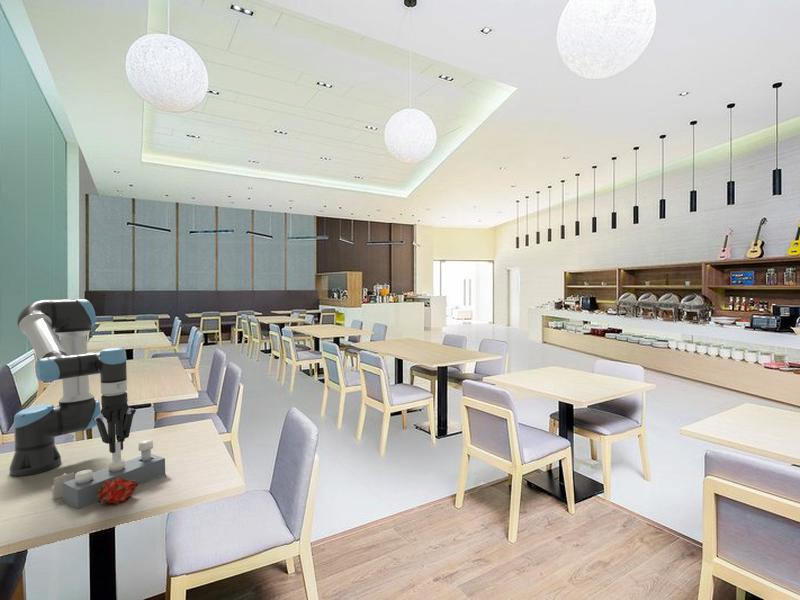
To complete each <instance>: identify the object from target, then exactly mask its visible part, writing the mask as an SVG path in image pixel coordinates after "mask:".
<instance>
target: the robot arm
mask: <svg viewBox="0 0 800 600" xmlns="http://www.w3.org/2000/svg"><path fill="white" fill-rule="evenodd" d="M96 319H97V317H96V311H95V309H94V306H93V304H92V303H91V302H90V301H89V300H88V299H85V298H82V299H81V298H71V299H69V298H68V299H66V298H65V299H42V300H37V301H33V302H31V303H30V304H28V305H27V306H25V307H24V308H23V309H22V310H21V311H20V313H19V315H17V324H16V325H17V327H18V328H19V330H20V333H22V334H23V335H25V336H26V337H27V340H28V341H29V343H30V345H31V346H32V349H33V350H34V353H35V354H36V356H37V360H36V362H35V365H34V366H35V367H34V369H35V377H36V378H37V380H38V381H39V382H49V381H50V382H55V381H58V380H62V395H63V396H61V398H60V399H59V400H58V405H56V406H54V405H53V404H52V403H43V404H37V405H33V406H30V407H26V408H24V409H21V410H20V411H18V412H17V413H16V414H15V415H14V416H13V417H14V418H13V430H14V453H13V457H12V460H11V463H10V466H9V475H10V476H15V477H23V476H24V477H25V476H31V475H36V474H40V473H43V472H47V471H51V470H52V469H55V468H57V467H58V466H60V465H61V463H62V457H61V454H60V452H59V450H58V447H57V446H56V444H55V439H56V437H59V436H63V435H67V434H72V433H73V434H74V433H76V432H84V431H86V430H89V429H93V428H94V427H96V426H97V429H98V432H99V435H100V438H101V441H102V442H103V443H104V444H107V445H108V447H109V451H108V452H109V453H111V454H112V455H111V457H112V458H111V459H112V460H111V461H115V462H119V461H121V459H122V451H123V450H124V442H125V440H126V439H128V438H129V436H130V434H131V428H132V424H133V418H134V415H135V414H136V412H137V410H136V409H135V408H131V407H130V406H129V405H128V401H129V400H128V392H127V391H128V380H127V379H128V378H127V377H128V376H127V372H128V371H127V358H128V357H127V352H126V349H125V348H124V347H110V348H109V347H108V348H103V349H101V350H100V351H99V350H98V351H97V350H96V351H93V352H91V353H88V341H87V336H88V334H90V332H91V327H94V326H95V325H96ZM59 338H60V340H59ZM97 374H98V375H99V374H100V377H99V378H100V393H101V394H102V395H101V397H100V399H99V400H101V401H99V400H98V399H97V398H95V394H92V393H91V392H90V380H89V379H90V378H89V376H91V375H97ZM100 402H101V403H100ZM104 419H105V420H106V423H107V428H106V425H105V423H104Z"/></svg>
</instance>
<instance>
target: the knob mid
mask: <svg viewBox="0 0 800 600" xmlns="http://www.w3.org/2000/svg"><path fill="white" fill-rule="evenodd" d="M125 461H126V460H125V459H124V458H121V461H119V462H115V461H112V460H111V461H109V462H108V467H109V471H112V473H116V472H119V471H121V470H122V469H123V468H125Z"/></svg>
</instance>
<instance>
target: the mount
mask: <svg viewBox="0 0 800 600" xmlns="http://www.w3.org/2000/svg"><path fill="white" fill-rule="evenodd" d="M164 475H166V458H165V457H163V456H160V455H157V454H154V453H151V460H149V461H146V462H142V460H141V455H139V456H137V457H134V458H131V459H128V460H125V468H123V469H122V470H121V471H119V472H116V473H112V471H109V466H108V467H105V468H102V469H99V470H95V471H93V479H92V480H90V482H88V483H85V484H82V485H79V483H75V478H74V479H72V480H70V481H67V482H64V483H63V497H62V501H63V502H65V503H67V504H68V505H70V506H72V507H73V508H76V509H82V508H84V507H86V506H88V505H91V504H94V503H96V502H99V500H101V499H100V498H98V497H97V496H96V495H97V494H98V493H97V490H98V489H99V488H100V487H101V485H103V484H106V482H105V481H111V480H113V479H115V478H117V479H120V478H121V477H124V478H125V480H135V481H136V482H137V483H138V486H139V485H142V484H144V483H147V482H150V481H151V480H155V479H157V478H159V477H162V476H164ZM137 483H136V484H137ZM101 501H102V500H101Z"/></svg>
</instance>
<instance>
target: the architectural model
mask: <svg viewBox="0 0 800 600" xmlns="http://www.w3.org/2000/svg"><path fill="white" fill-rule="evenodd" d="M72 479H75V472H74V471H73V472H70V473H66V472H64V473H63V474H62V475H59V476H57V477H53V482H52V483H51V485H52V486H50V487H51V496H52V497H51V498H52V499H53V500H57V499H59V498H63V483H64V482H67V481H70V480H72Z"/></svg>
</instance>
